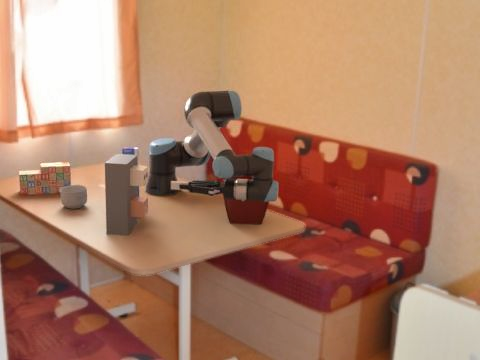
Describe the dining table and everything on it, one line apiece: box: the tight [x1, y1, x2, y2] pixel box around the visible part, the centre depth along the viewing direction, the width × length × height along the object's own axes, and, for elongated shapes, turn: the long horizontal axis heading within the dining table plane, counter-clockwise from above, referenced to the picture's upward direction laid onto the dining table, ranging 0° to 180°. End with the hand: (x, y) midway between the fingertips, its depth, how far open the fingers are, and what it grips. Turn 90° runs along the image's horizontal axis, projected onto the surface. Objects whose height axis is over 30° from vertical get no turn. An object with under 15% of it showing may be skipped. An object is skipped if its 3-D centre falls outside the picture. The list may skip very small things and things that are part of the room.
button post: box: [104, 153, 139, 237], centre depth 238 cm, size 8×14×27 cm, turn 173°
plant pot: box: [221, 175, 270, 225], centre depth 255 cm, size 19×19×17 cm
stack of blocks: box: [18, 161, 72, 196], centre depth 281 cm, size 21×6×12 cm, turn 109°
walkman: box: [121, 147, 140, 159], centre depth 318 cm, size 8×3×12 cm, turn 102°
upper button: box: [130, 165, 149, 187], centre depth 236 cm, size 8×6×6 cm
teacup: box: [60, 183, 88, 210], centre depth 265 cm, size 14×11×8 cm
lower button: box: [130, 196, 149, 218], centre depth 239 cm, size 8×6×6 cm
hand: (171, 185), depth 234 cm, fingers closed
